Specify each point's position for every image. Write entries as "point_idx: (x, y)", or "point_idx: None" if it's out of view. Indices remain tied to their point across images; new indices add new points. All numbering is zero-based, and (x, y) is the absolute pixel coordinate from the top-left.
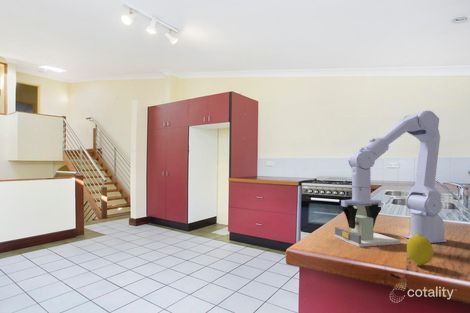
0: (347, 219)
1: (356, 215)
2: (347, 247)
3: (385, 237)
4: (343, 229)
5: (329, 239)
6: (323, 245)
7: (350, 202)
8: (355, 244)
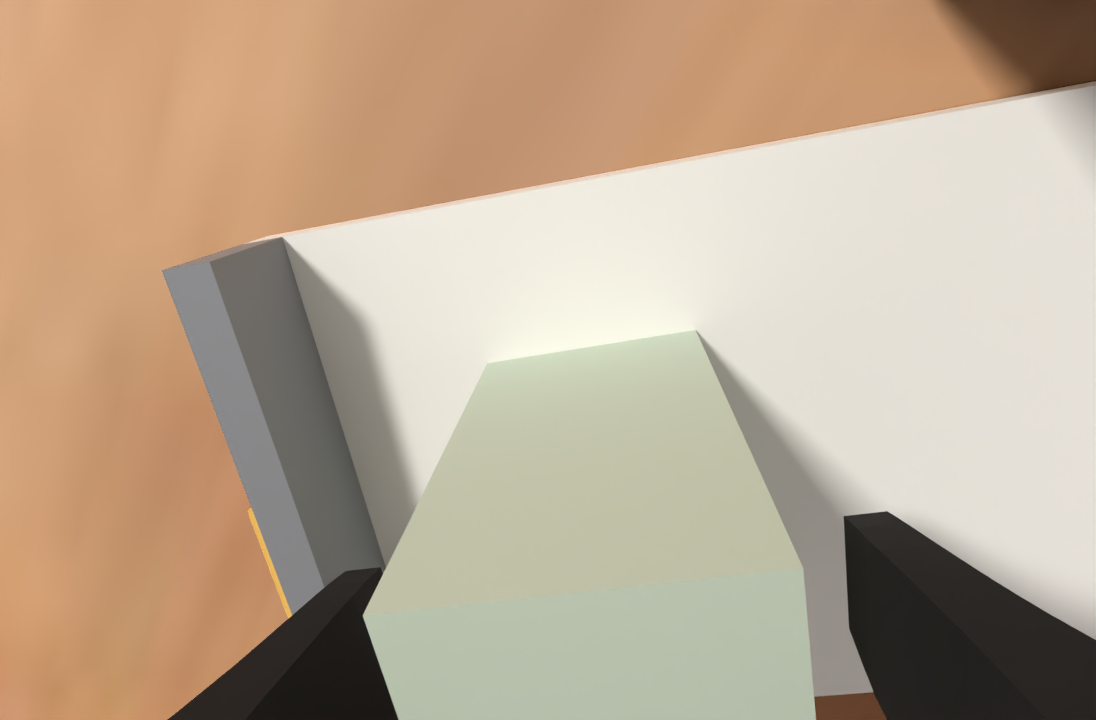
0: (225, 696)
1: (580, 641)
2: None
3: (1044, 507)
4: (281, 467)
5: (142, 369)
6: (16, 607)
7: None
8: None
